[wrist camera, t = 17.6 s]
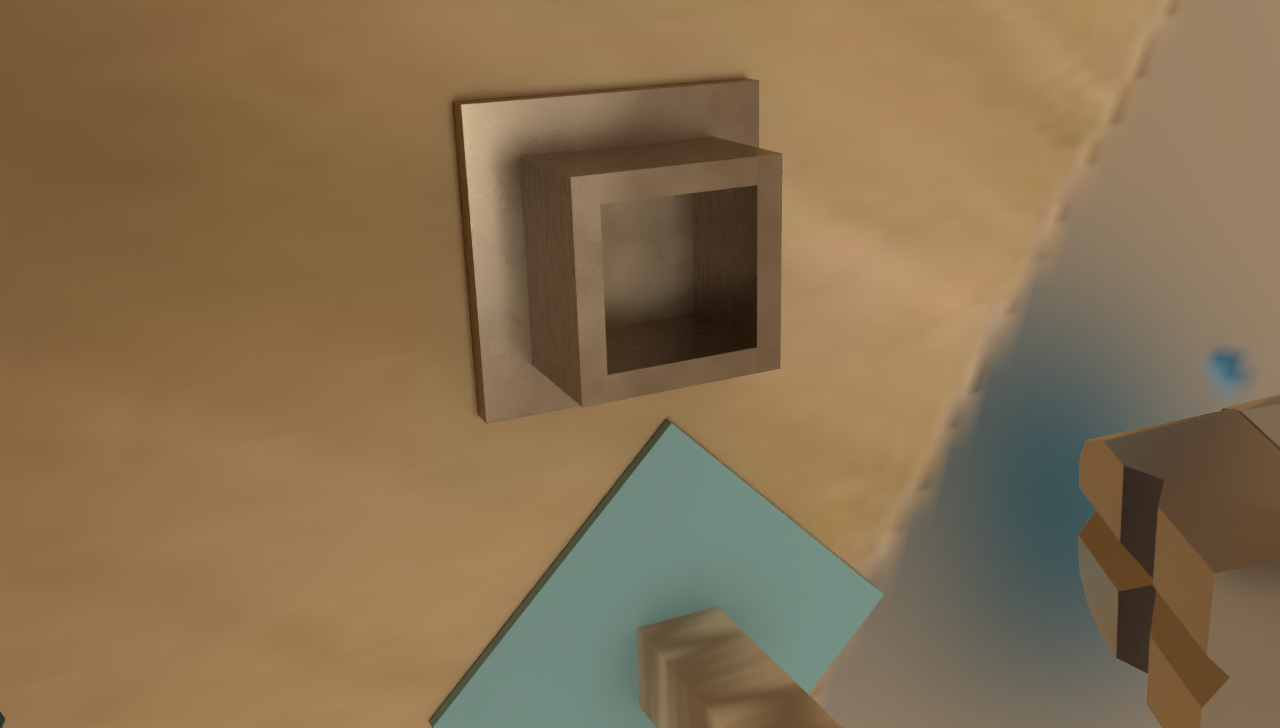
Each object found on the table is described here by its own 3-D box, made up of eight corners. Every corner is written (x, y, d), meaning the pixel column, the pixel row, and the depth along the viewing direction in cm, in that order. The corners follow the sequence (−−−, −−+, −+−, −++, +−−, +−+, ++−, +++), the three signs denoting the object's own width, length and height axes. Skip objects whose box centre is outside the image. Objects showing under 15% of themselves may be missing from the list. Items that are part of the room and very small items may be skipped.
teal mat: (677, 851, 57) (682, 857, 56) (429, 721, 49) (432, 728, 48) (877, 590, 57) (884, 594, 57) (666, 419, 49) (671, 423, 49)
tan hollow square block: (478, 415, 45) (531, 471, 40) (452, 102, 42) (507, 119, 36) (746, 364, 50) (824, 408, 45) (746, 78, 46) (831, 91, 41)
